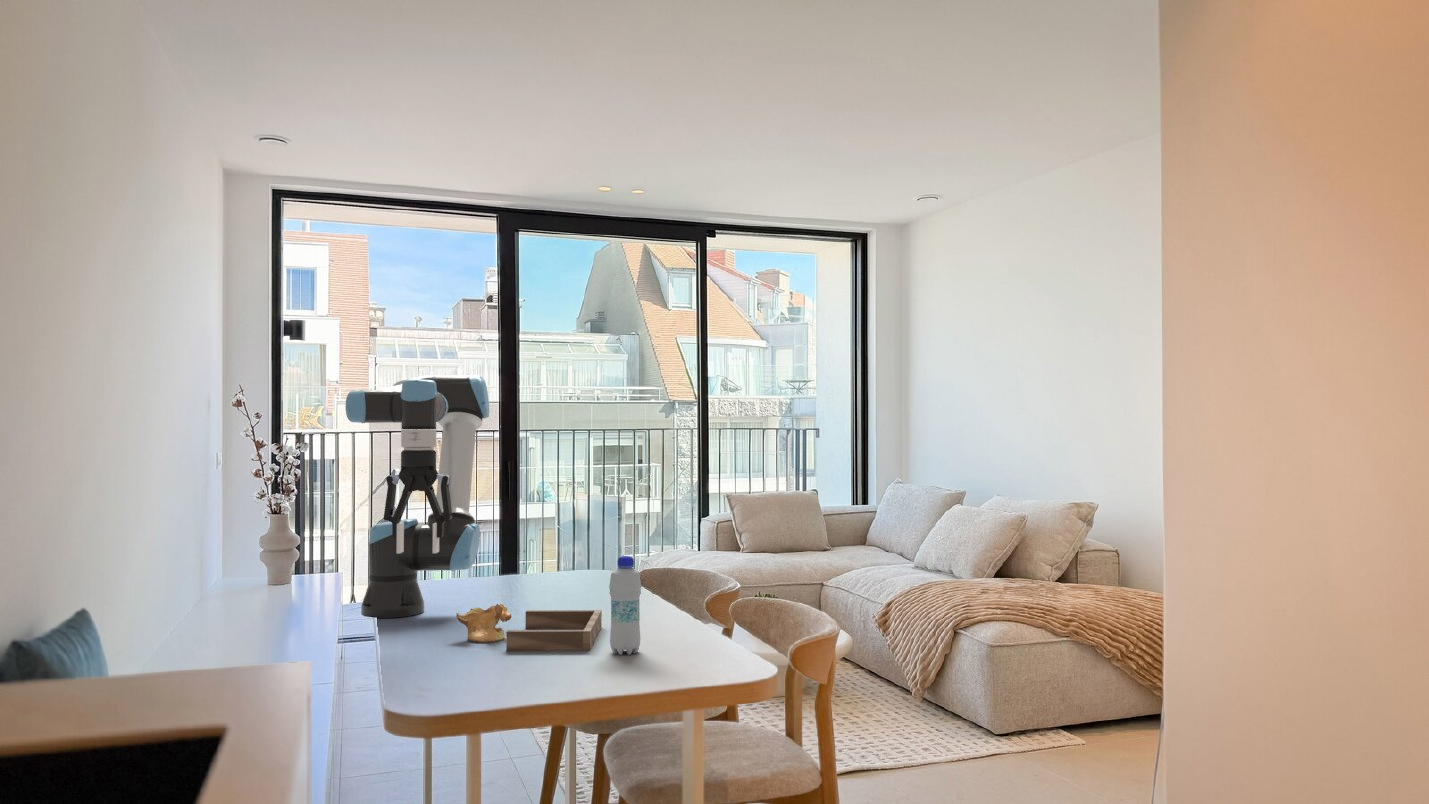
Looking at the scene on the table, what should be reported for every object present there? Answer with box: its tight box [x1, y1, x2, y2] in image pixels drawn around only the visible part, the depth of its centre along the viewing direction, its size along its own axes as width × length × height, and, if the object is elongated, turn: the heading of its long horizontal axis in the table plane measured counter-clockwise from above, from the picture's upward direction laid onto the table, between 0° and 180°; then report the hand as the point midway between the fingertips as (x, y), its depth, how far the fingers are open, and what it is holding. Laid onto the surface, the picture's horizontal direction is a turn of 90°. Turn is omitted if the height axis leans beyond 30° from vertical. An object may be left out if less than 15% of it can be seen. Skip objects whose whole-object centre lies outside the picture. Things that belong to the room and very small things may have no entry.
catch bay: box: [505, 609, 603, 652], centre depth 217 cm, size 24×18×4 cm
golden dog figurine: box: [456, 603, 512, 644], centre depth 216 cm, size 12×10×8 cm
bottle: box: [608, 555, 642, 656], centre depth 204 cm, size 7×7×20 cm
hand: (418, 552), depth 217 cm, fingers open, 7 cm apart
